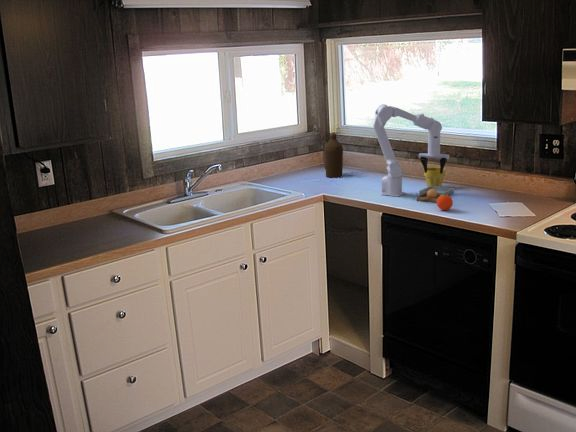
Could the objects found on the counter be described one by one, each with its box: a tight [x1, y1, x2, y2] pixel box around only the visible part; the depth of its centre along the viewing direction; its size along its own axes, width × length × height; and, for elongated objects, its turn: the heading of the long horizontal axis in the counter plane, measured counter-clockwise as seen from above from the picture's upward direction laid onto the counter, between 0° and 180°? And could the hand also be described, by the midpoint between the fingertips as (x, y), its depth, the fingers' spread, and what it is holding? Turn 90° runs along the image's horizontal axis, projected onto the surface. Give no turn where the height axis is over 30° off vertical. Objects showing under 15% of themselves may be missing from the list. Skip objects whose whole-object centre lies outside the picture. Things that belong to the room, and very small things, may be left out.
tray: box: [416, 193, 441, 204], centre depth 295 cm, size 11×9×2 cm
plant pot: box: [423, 166, 446, 188], centre depth 319 cm, size 10×10×10 cm
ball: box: [427, 189, 437, 198], centre depth 295 cm, size 5×5×5 cm
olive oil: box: [323, 131, 344, 179], centre depth 355 cm, size 11×11×25 cm
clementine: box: [436, 195, 454, 211], centre depth 277 cm, size 8×7×7 cm
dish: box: [418, 186, 454, 196], centre depth 305 cm, size 12×12×2 cm
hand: (433, 172), depth 307 cm, fingers open, 7 cm apart
